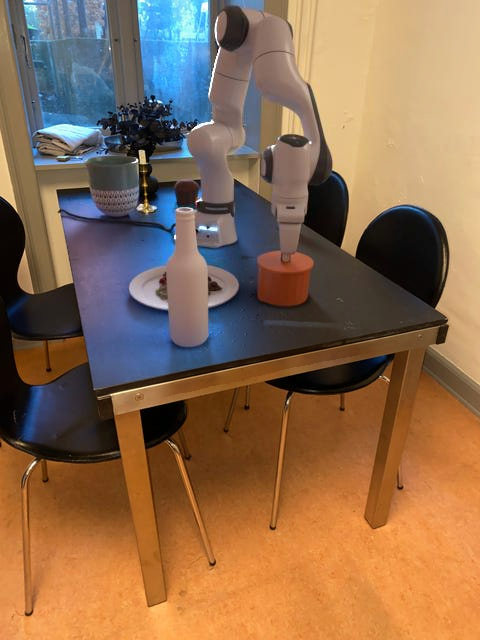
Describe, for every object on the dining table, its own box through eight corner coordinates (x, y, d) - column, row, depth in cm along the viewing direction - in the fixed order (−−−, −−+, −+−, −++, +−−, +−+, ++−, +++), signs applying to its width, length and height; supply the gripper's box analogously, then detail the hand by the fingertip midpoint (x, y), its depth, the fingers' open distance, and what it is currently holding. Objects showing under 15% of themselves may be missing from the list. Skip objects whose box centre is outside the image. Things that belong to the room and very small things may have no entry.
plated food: (195, 328, 111) (195, 315, 110) (105, 296, 125) (104, 285, 123) (258, 284, 134) (259, 273, 132) (176, 261, 147) (176, 251, 146)
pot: (256, 306, 122) (258, 273, 117) (257, 284, 134) (259, 253, 129) (308, 308, 121) (312, 275, 117) (305, 286, 133) (308, 255, 128)
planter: (117, 225, 177) (111, 167, 167) (81, 216, 186) (73, 161, 175) (152, 213, 192) (148, 159, 181) (117, 205, 201) (111, 153, 190)
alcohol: (212, 345, 105) (211, 214, 90) (173, 350, 102) (166, 217, 88) (203, 326, 112) (201, 202, 97) (167, 331, 110) (159, 204, 95)
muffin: (169, 204, 204) (168, 181, 199) (179, 198, 213) (178, 176, 208) (194, 207, 201) (194, 183, 196) (204, 200, 210) (203, 178, 205)
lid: (256, 275, 117) (257, 253, 114) (257, 254, 130) (258, 234, 127) (315, 277, 116) (318, 256, 113) (310, 256, 129) (312, 236, 126)
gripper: (275, 194, 124) (272, 243, 131) (277, 217, 107) (273, 272, 113) (299, 195, 124) (295, 244, 131) (304, 218, 106) (299, 273, 113)
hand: (285, 258), depth 122 cm, fingers closed on lid, 2 cm apart
